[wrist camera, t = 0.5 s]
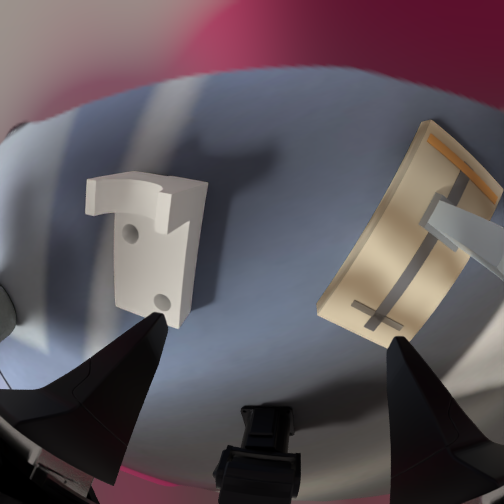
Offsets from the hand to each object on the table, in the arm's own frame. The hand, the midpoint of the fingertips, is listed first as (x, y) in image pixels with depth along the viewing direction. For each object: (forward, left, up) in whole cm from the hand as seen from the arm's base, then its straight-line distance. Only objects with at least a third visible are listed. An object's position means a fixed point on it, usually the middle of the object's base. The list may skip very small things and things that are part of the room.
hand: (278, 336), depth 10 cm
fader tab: (0, -13, -12) cm, 18 cm away
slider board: (-2, -11, -14) cm, 18 cm away
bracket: (0, +12, -15) cm, 19 cm away
